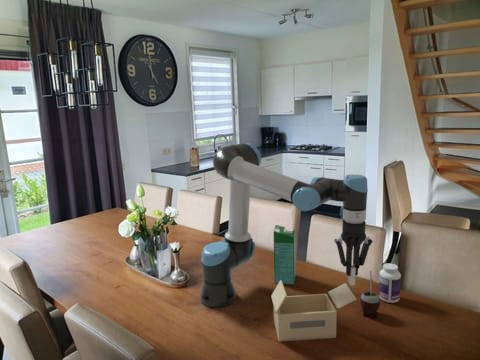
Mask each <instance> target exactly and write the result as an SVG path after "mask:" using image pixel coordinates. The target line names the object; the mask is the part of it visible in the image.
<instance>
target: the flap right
mask: <svg viewBox="0 0 480 360" xmlns="http://www.w3.org/2000/svg"><path fill="white" fill-rule="evenodd" d="M327 295H329V296H328V297H329V298H330V300H331V302H333V303H332V304H333V305H334V307H335V309H336V310H340V309H341V308H343V307H345V306H347V305H349V304H351V303H353V302H355V301H357V298H356V296H355V295H354V293H353V292H352V290H351V288H350V287H349V286H348V284H347V283H346V282H344V283H342V284H341V285H338V286H337V287H335V288H332V289H331V290H329V291H327Z"/></svg>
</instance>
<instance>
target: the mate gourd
mask: <svg viewBox="0 0 480 360" xmlns="http://www.w3.org/2000/svg"><path fill="white" fill-rule="evenodd" d="M369 275H370V276H369V277H370V279H369V282H370V284H369V285H370V291H365V292H363V293H362V294H361V295H360V299H359V300H360V302H359V303H360V307H361V309H362V313H363V314H362V317H366V316H371V317H372V318H373V319H376V318H377V316H376V315H377V312H378V310H379V309H380V305H381V300H380V297H379V294H377V293H375V292H373V277H372V275H373V273H372V271H371V270H370V271H369Z"/></svg>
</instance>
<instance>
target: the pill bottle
mask: <svg viewBox="0 0 480 360" xmlns="http://www.w3.org/2000/svg"><path fill="white" fill-rule="evenodd" d="M401 281H402V274H401V273H400V271H399V267H398V265H397V264H394V263H390V262H389V263H384V264H383V266H382V269H381V270H380V271H379V281H378V282H379V283H378V297H379V299H381V300H382V301H383V302H385V303H391V304H394V303H397V302H399V301H400V300H401V285H402V283H401ZM381 300H380V301H381Z"/></svg>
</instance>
